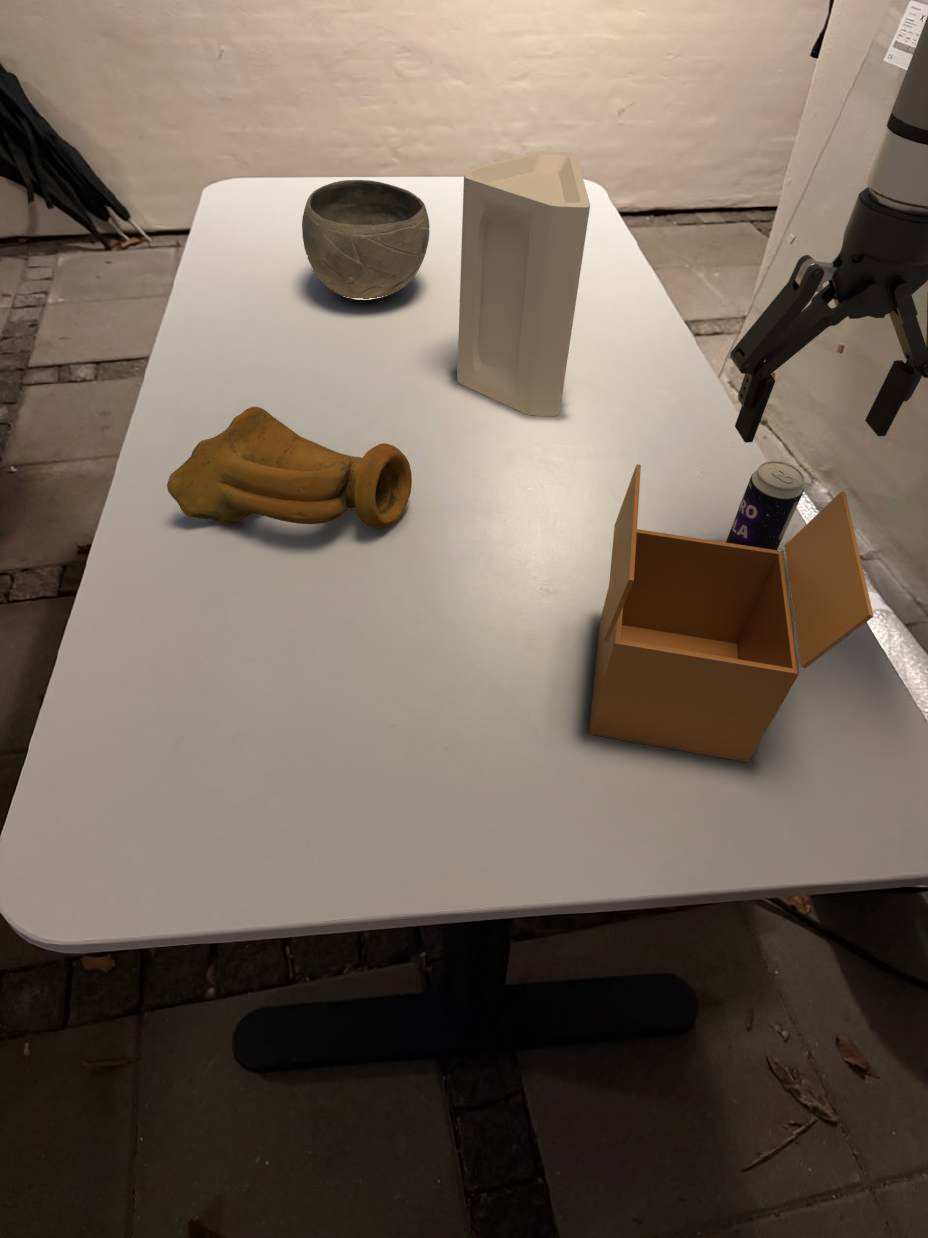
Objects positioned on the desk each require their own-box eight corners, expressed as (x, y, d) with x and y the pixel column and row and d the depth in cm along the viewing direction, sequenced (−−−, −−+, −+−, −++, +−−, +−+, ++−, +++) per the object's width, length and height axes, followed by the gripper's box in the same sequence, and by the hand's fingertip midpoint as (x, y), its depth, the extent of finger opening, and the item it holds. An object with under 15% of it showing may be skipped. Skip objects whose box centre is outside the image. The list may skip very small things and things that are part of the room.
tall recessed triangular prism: (457, 345, 123) (464, 147, 102) (550, 348, 123) (575, 152, 103) (456, 412, 110) (463, 202, 90) (560, 416, 111) (591, 207, 90)
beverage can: (741, 533, 95) (774, 452, 86) (780, 558, 92) (818, 477, 83) (713, 552, 92) (743, 470, 83) (752, 579, 89) (788, 497, 81)
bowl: (356, 334, 124) (349, 237, 113) (283, 286, 134) (270, 193, 123) (454, 297, 134) (456, 205, 123) (379, 256, 144) (375, 167, 133)
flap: (784, 545, 72) (788, 547, 72) (800, 667, 62) (804, 669, 62) (841, 490, 67) (845, 492, 67) (869, 614, 57) (874, 616, 57)
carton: (740, 644, 83) (812, 488, 67) (748, 762, 73) (835, 612, 57) (591, 619, 84) (629, 462, 69) (579, 732, 74) (620, 578, 59)
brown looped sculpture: (267, 389, 99) (416, 411, 90) (275, 487, 105) (415, 517, 96) (155, 416, 84) (320, 446, 76) (172, 528, 90) (327, 568, 82)
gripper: (1029, 177, 63) (908, 404, 79) (740, 179, 60) (674, 414, 76) (1090, 213, 58) (948, 448, 74) (778, 217, 55) (700, 460, 71)
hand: (809, 431), depth 75 cm, fingers open, 13 cm apart
